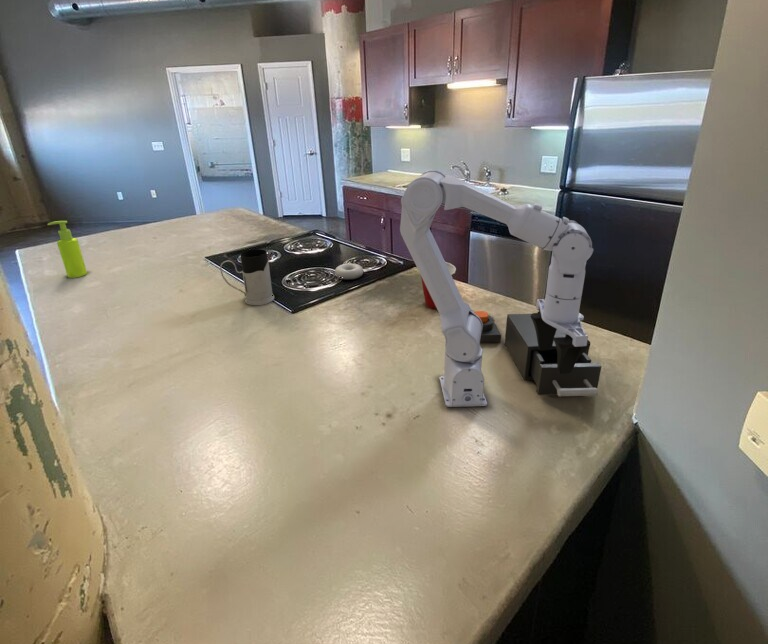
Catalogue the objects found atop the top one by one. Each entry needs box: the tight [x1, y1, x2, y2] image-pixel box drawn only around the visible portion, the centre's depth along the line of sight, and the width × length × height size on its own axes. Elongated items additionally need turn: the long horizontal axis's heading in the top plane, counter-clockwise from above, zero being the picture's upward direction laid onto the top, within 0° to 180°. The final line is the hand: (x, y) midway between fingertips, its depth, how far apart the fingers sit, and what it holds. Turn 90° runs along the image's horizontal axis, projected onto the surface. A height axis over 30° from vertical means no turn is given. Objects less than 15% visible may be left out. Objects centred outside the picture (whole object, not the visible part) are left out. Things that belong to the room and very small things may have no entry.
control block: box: [480, 314, 502, 344], centre depth 105 cm, size 10×8×4 cm
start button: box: [473, 310, 489, 323], centre depth 105 cm, size 4×4×2 cm
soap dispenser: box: [47, 220, 88, 279], centre depth 148 cm, size 6×7×20 cm
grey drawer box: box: [504, 313, 590, 381], centre depth 93 cm, size 15×13×8 cm
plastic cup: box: [420, 261, 457, 310], centre depth 120 cm, size 11×11×12 cm
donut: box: [334, 262, 364, 281], centre depth 145 cm, size 10×4×10 cm
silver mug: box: [219, 248, 276, 306], centre depth 125 cm, size 9×14×15 cm, turn 112°
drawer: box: [529, 349, 602, 397], centre depth 84 cm, size 18×11×6 cm, turn 1°
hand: (553, 360), depth 77 cm, fingers open, 7 cm apart
